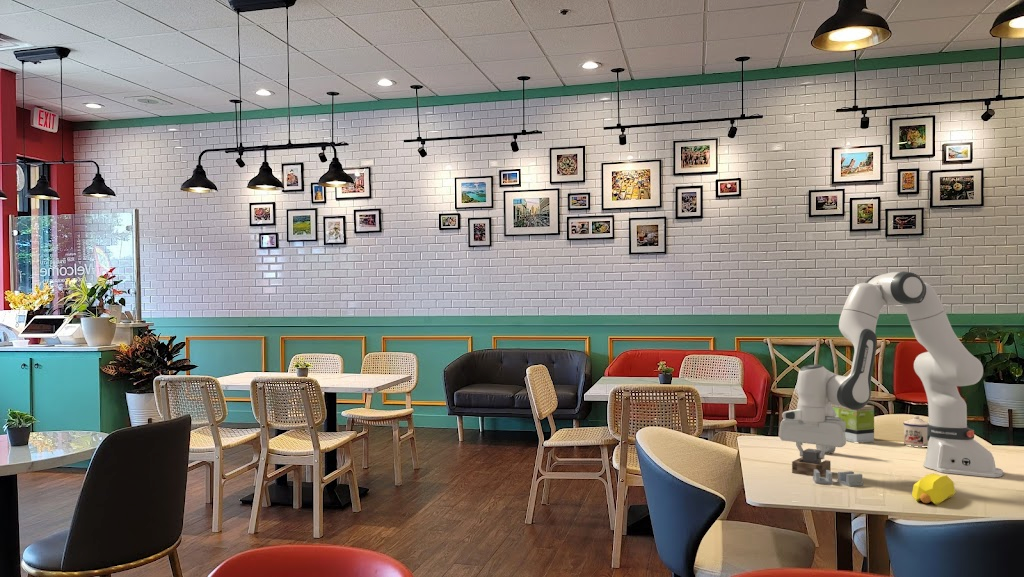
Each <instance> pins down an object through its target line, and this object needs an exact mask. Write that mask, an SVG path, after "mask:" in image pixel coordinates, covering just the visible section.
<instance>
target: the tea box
mask: <svg viewBox="0 0 1024 577" xmlns="http://www.w3.org/2000/svg"><path fill="white" fill-rule="evenodd" d="M831 406H832V408H833V409H834V410H835V413H836V416H835V417H839V418H841V419H843V420H844V421H845V422H846V430H845V436H846V442H849V443H850V442H851V443H854V442H865V443H874V442H875V406H874V405H868V404H866V406H864V407H863V408H861V409H858V410H852V409H849V408H846V407H844V406H840V405H835V404H831ZM835 421H836V420H835ZM841 421H842V420H841Z"/></svg>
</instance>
